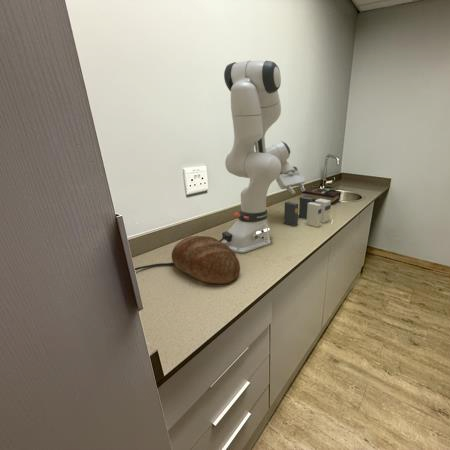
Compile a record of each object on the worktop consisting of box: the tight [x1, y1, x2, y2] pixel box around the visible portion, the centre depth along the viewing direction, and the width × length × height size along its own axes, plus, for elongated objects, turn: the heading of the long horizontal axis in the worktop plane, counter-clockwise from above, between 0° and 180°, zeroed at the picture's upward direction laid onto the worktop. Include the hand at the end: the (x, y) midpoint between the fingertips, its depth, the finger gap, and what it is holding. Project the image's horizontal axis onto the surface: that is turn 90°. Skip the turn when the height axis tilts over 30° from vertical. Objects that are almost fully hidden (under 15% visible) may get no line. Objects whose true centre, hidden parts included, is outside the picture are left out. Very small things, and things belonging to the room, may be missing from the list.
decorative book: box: [301, 186, 342, 206], centre depth 184 cm, size 19×8×30 cm
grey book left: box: [283, 201, 299, 227], centre depth 131 cm, size 3×7×12 cm, turn 56°
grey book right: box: [298, 196, 314, 220], centre depth 143 cm, size 3×7×12 cm, turn 63°
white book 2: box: [314, 200, 328, 224], centre depth 138 cm, size 3×7×12 cm, turn 56°
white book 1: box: [305, 201, 322, 228], centre depth 132 cm, size 3×7×12 cm, turn 56°
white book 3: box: [318, 199, 332, 222], centre depth 140 cm, size 3×7×12 cm, turn 56°
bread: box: [171, 235, 241, 284], centre depth 85 cm, size 16×29×11 cm, turn 57°
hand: (299, 192), depth 133 cm, fingers open, 8 cm apart
